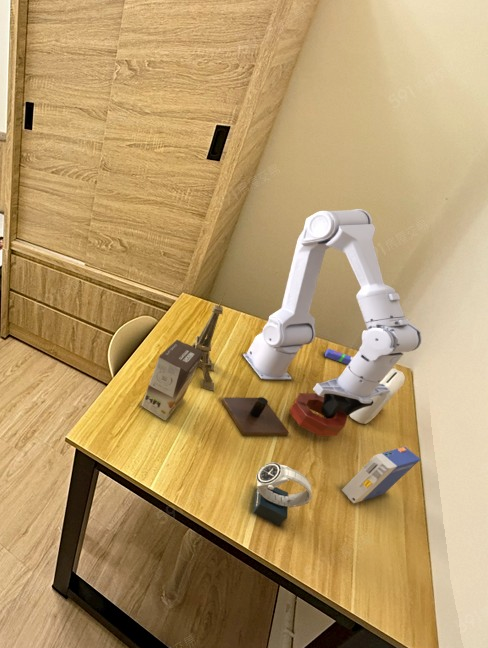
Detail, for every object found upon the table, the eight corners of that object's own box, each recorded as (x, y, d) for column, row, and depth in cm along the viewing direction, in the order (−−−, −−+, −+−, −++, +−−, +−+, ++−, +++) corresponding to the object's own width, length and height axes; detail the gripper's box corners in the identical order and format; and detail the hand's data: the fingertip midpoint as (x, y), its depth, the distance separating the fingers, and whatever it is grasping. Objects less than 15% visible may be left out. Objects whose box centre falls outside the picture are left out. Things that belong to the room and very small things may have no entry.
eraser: (351, 366, 109) (355, 361, 108) (324, 357, 112) (328, 351, 111) (350, 362, 110) (354, 356, 109) (324, 353, 113) (328, 348, 112)
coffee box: (165, 422, 92) (186, 372, 83) (140, 406, 96) (157, 356, 87) (182, 400, 98) (204, 351, 89) (158, 386, 102) (176, 338, 92)
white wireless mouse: (361, 396, 100) (390, 360, 93) (382, 408, 97) (414, 372, 90) (343, 414, 95) (373, 378, 88) (365, 427, 92) (397, 390, 85)
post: (221, 400, 98) (230, 383, 95) (261, 401, 98) (271, 384, 95) (242, 435, 90) (253, 418, 86) (286, 435, 90) (299, 418, 87)
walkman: (369, 481, 81) (405, 445, 75) (383, 494, 79) (422, 458, 72) (339, 490, 80) (373, 453, 73) (353, 503, 77) (389, 467, 71)
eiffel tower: (171, 352, 112) (200, 276, 98) (213, 364, 108) (249, 287, 94) (168, 377, 104) (199, 299, 90) (213, 391, 101) (252, 311, 86)
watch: (244, 484, 80) (267, 451, 74) (291, 506, 77) (319, 473, 71) (241, 507, 76) (265, 474, 70) (291, 532, 73) (320, 499, 67)
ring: (281, 402, 95) (288, 392, 93) (319, 403, 95) (327, 393, 93) (307, 435, 88) (315, 425, 86) (348, 436, 88) (357, 426, 86)
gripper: (344, 386, 80) (312, 429, 87) (416, 386, 80) (377, 430, 87) (320, 361, 85) (291, 403, 93) (387, 361, 86) (353, 404, 93)
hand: (331, 414), depth 91 cm, fingers closed on ring, 2 cm apart
